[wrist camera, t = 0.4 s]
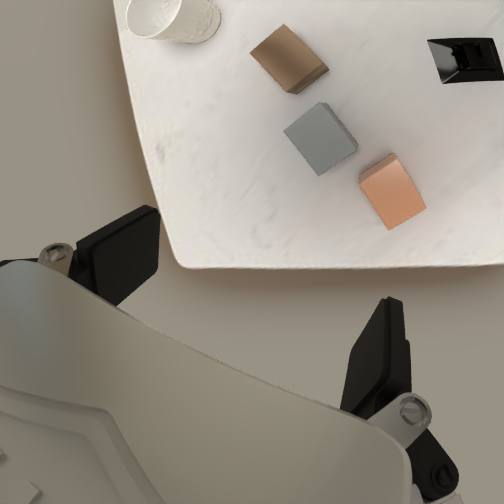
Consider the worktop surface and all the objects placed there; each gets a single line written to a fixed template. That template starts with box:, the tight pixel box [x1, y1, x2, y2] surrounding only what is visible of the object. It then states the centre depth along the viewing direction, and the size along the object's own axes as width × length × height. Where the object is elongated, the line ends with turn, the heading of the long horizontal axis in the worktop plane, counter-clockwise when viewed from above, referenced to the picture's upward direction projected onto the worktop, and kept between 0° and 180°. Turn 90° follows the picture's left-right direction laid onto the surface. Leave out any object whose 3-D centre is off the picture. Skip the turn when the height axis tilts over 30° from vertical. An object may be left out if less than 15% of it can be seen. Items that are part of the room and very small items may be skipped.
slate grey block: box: [283, 103, 358, 176], centre depth 30 cm, size 5×6×5 cm
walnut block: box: [250, 24, 329, 94], centre depth 27 cm, size 5×6×5 cm
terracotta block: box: [358, 153, 427, 231], centre depth 30 cm, size 5×6×5 cm
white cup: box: [125, 0, 221, 44], centre depth 26 cm, size 8×8×10 cm
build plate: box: [427, 38, 504, 84], centre depth 20 cm, size 12×7×5 cm, turn 108°
